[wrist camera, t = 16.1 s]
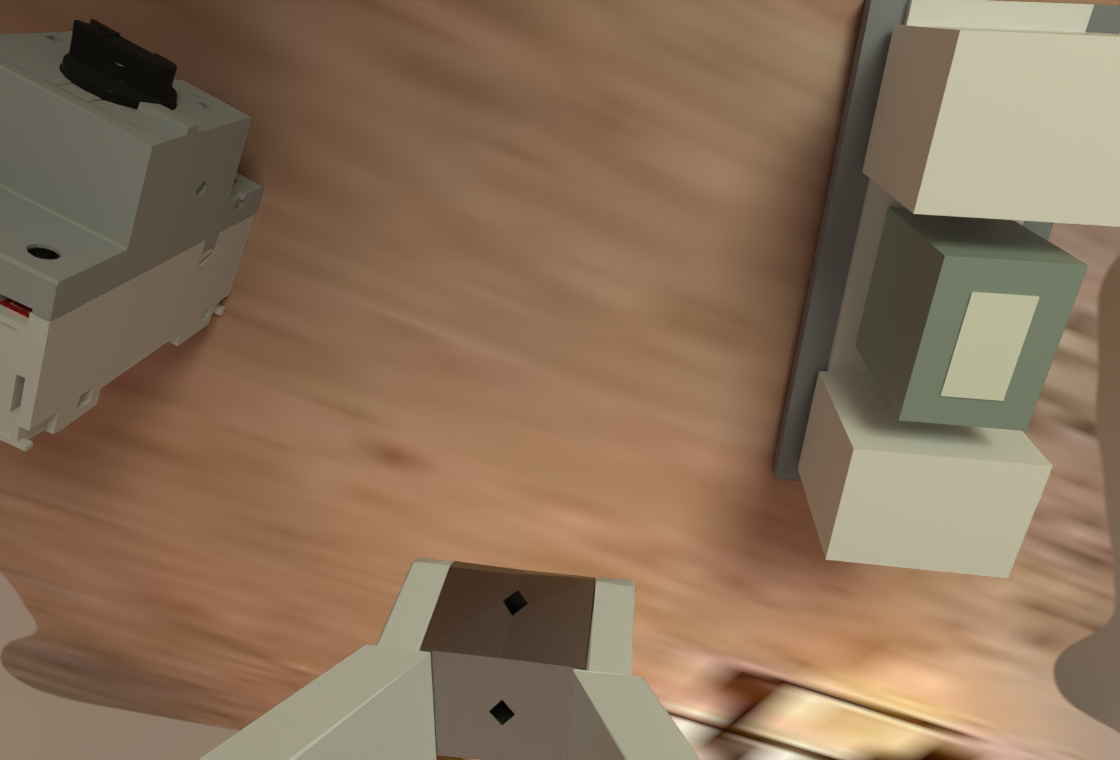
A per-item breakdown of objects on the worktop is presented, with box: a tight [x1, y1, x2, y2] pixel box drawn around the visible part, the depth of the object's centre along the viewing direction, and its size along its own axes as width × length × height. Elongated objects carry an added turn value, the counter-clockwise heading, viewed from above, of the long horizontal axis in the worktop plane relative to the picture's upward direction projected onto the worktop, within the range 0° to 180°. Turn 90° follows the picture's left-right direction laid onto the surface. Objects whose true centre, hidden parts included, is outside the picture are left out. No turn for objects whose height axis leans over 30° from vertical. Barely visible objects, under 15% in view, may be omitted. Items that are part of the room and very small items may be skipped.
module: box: [855, 207, 1088, 431], centre depth 32 cm, size 7×5×8 cm
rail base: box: [773, 0, 1120, 578], centre depth 33 cm, size 24×10×9 cm, turn 178°
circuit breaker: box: [0, 19, 264, 451], centre depth 32 cm, size 8×14×15 cm, turn 152°
